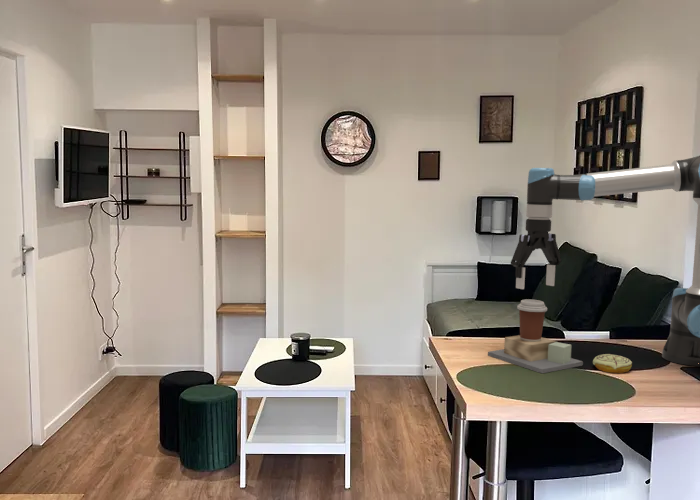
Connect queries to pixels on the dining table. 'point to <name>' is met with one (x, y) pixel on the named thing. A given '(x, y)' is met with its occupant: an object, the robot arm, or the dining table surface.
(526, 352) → the oak plinth
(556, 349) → the sage cube
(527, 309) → the coffee cup
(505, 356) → the build board
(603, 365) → the decorated donut
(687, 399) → the dining table surface
